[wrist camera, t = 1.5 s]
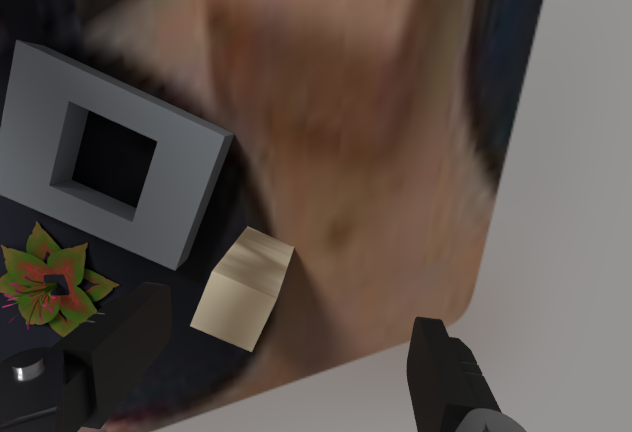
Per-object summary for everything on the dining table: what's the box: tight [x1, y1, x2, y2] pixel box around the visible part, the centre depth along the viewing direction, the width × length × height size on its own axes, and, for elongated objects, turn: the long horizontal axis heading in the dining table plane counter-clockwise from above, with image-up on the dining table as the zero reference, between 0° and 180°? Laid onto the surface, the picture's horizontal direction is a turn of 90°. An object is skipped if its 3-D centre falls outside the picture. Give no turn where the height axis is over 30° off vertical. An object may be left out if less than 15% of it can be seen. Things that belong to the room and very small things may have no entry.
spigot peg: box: [190, 226, 294, 352], centre depth 28 cm, size 4×4×9 cm
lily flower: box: [0, 222, 119, 337], centre depth 32 cm, size 12×12×5 cm
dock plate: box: [0, 40, 234, 270], centre depth 29 cm, size 16×12×2 cm
